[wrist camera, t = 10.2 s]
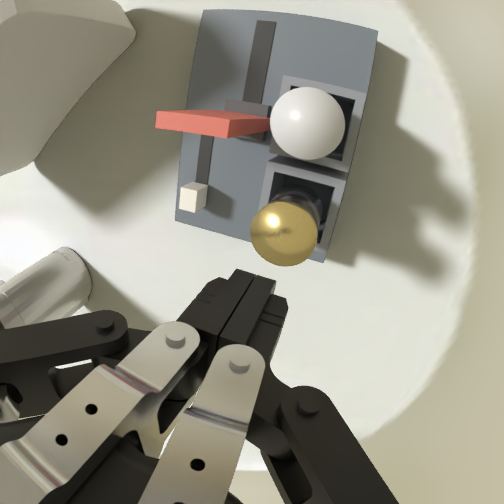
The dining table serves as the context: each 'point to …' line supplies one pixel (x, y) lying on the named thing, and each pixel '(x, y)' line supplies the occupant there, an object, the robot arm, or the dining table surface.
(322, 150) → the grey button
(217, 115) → the red lever
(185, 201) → the slider knob
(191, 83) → the console
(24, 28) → the rounded white slab
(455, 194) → the dining table surface
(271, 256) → the brass button
